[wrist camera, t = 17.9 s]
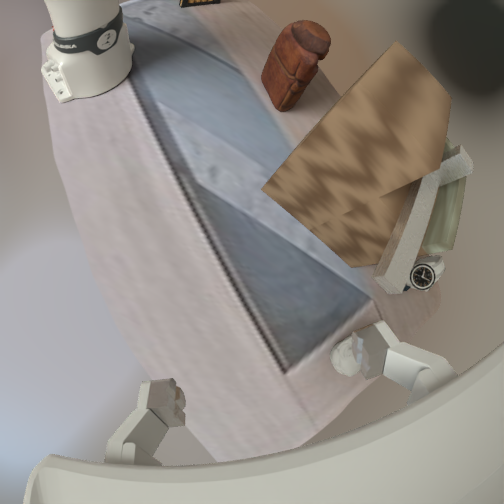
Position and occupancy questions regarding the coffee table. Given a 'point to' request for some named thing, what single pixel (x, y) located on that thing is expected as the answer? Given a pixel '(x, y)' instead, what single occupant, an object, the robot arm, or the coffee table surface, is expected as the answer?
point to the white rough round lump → (344, 358)
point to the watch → (425, 273)
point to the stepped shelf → (373, 162)
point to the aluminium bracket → (417, 221)
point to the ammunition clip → (197, 2)
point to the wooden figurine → (294, 62)
